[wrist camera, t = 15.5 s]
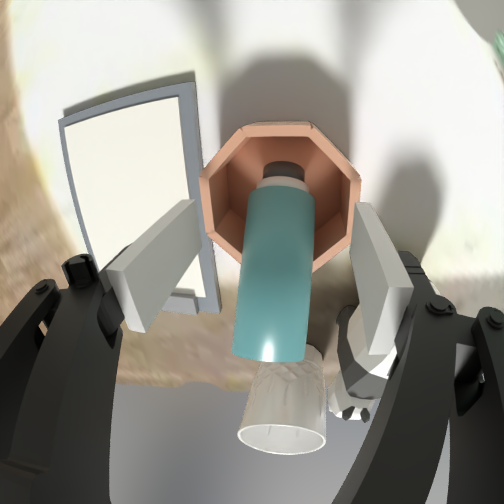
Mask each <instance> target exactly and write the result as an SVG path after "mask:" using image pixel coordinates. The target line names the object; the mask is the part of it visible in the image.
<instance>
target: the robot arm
mask: <svg viewBox="0 0 504 504" xmlns="http://www.w3.org/2000/svg"><path fill="white" fill-rule="evenodd" d="M201 248H202V242H201V236H200V229H199V222H198V215H197V208H196V201H195V199H183V200H181V201H179V202H178V203H177V204H176V205H175V206H173V207H172V208H171V209H170V210H169V211H168V212H167V213H165V214H164V215H163V216H162V217H161V218H160V219H159V220H157V221H156V222H155V223H154V224H153V225H152V226H151V227H150V228H148V229H147V230H146V231H145V232H144V233H143V234H142V235H141V236H140V237H139V238H138V239H136V240H135V241H134V242H133V243H131V244H130V245H128V246H126V247H124V248H123V249H122V250H121V251H120V252H119V253H118V255H116V256H115V257H114V258H113V260H111V261H110V262H109V263H108V264H107V265H106V266H105V267H104V268H103V269H102V270H101V271H100V272H99V273H98V271H97V268H96V265H95V262H94V259H93V257H92V255H90V254H80V255H76V256H74V257H72V258H70V259H68V260H67V261H65V262H64V263H63V264H62V266H61V267H62V269H63V272H64V274H65V277H66V279H67V281H68V284H69V287H68V289H60V290H59V288H58V286H57V284H56V282H55V280H53V279H44V280H42V281H40V282H39V283H37V284H36V285H35V286H34V287H33V288H32V289H31V290H30V291H29V292H28V293H27V294H26V295H25V297H24V298H23V299H22V300H21V301H20V302H19V304H18V305H17V306H16V307H15V308H14V310H13V311H12V312H11V313H10V315H9V316H8V317H7V318H6V320H5V321H4V322H3V323H2V325H1V326H0V504H111V501H110V496H109V454H110V453H109V452H110V433H111V419H112V409H113V399H114V389H115V382H116V374H117V367H118V361H119V354H120V348H121V342H122V337H123V331H122V329H121V327H120V324H121V323H122V321H123V320H124V318H125V321H126V323H127V325H128V327H129V330H132V331H137V332H142V333H146V332H147V331H148V329H149V328H150V326H151V324H152V323H153V321H154V320H155V318H156V317H157V315H158V313H159V312H160V310H161V309H162V307H163V306H164V304H165V302H166V301H167V299H168V298H169V296H170V295H171V293H172V292H173V290H174V289H175V287H176V286H177V284H178V283H179V281H180V279H181V278H182V276H183V275H184V273H185V272H186V270H187V269H188V267H189V266H190V265H191V263H192V262H193V260H194V259H195V257H196V256H197V254H198V253H199V251H200V250H201ZM350 258H351V262H352V267H353V271H354V276H355V281H356V286H357V291H358V296H359V301H360V306H361V312H362V318H363V324H364V330H365V336H366V343H367V350H368V355H382V354H390V352H391V350H392V347H393V345H394V342H395V347H396V351H397V354H396V356H395V359H394V361H393V363H392V365H391V367H390V369H389V371H388V373H387V375H386V376H389V377H388V380H387V383H386V386H385V389H384V392H383V395H382V397H381V400H380V403H379V406H378V408H377V411H376V414H375V416H374V419H373V421H372V424H371V426H370V429H369V431H368V434H367V436H366V438H365V440H364V442H363V445H362V447H361V449H360V451H359V454H358V455H357V457H356V460H355V462H354V464H353V466H352V468H351V470H350V472H349V473H348V475H347V477H346V479H345V481H344V483H343V485H342V486H341V488H340V490H339V492H338V494H337V495H336V497H335V499H334V500H333V502H332V504H425V502H426V500H427V497H428V494H429V491H430V489H431V486H432V483H433V480H434V477H435V474H436V470H437V467H438V463H439V460H440V456H441V452H442V448H443V444H444V440H445V435H446V430H447V425H448V420H449V422H450V472H449V486H448V496H447V504H504V314H503V313H502V312H501V311H500V310H498V309H496V308H492V307H483V308H482V309H480V311H479V313H478V315H477V317H476V318H472V317H467V316H463V315H459V314H457V312H456V308H455V306H454V305H453V304H452V303H451V302H450V301H449V300H448V299H446V298H445V297H442V296H440V295H437V294H436V293H435V291H434V289H433V287H432V285H431V283H430V281H429V279H428V278H427V276H426V275H425V272H424V270H423V268H421V265H420V263H419V261H418V260H417V258H416V257H414V256H413V255H412V254H411V253H410V252H406V251H396V249H395V247H394V245H393V243H392V241H391V239H390V237H389V235H388V234H387V232H386V230H385V228H384V226H383V224H382V223H381V221H380V219H379V217H378V216H377V214H376V212H375V210H374V209H373V207H372V205H371V203H364V202H355V206H354V217H353V227H352V236H351V245H350ZM41 321H43V323H44V325H45V326H46V328H47V330H48V331H47V333H46V336H44V334H43V333H42V331H41V329H40V328H39V326H38V325H39V324H40V323H41ZM482 374H484V379H485V381H484V380H483V376H482Z"/></svg>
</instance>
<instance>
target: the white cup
mask: <svg viewBox="0 0 504 504" xmlns="http://www.w3.org/2000/svg"><path fill="white" fill-rule="evenodd" d="M238 438H239V439H240V440H241V441H242V442H243V443H245V444H246V445H248V446H250V447H253V448H255V449H258V450H261V451H265V452H269V453H276V454H303V453H308V452H312V451H315V450H318V449H320V448H321V447H323V446H324V445H325V443H326V393H325V378H324V376H323V360H322V354H321V353H320V352H319V351H318V350H317V349H316V348H315V347H314V346H311V345H309V344H306V348H305V356H304V360H302V361H298V362H266V361H260V365H259V368H258V371H257V372H256V375H255V378H254V381H253V384H252V387H251V390H250V394H249V397H248V401H247V404H246V407H245V411H244V414H243V418H242V421H241V424H240V427H239V430H238Z"/></svg>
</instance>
